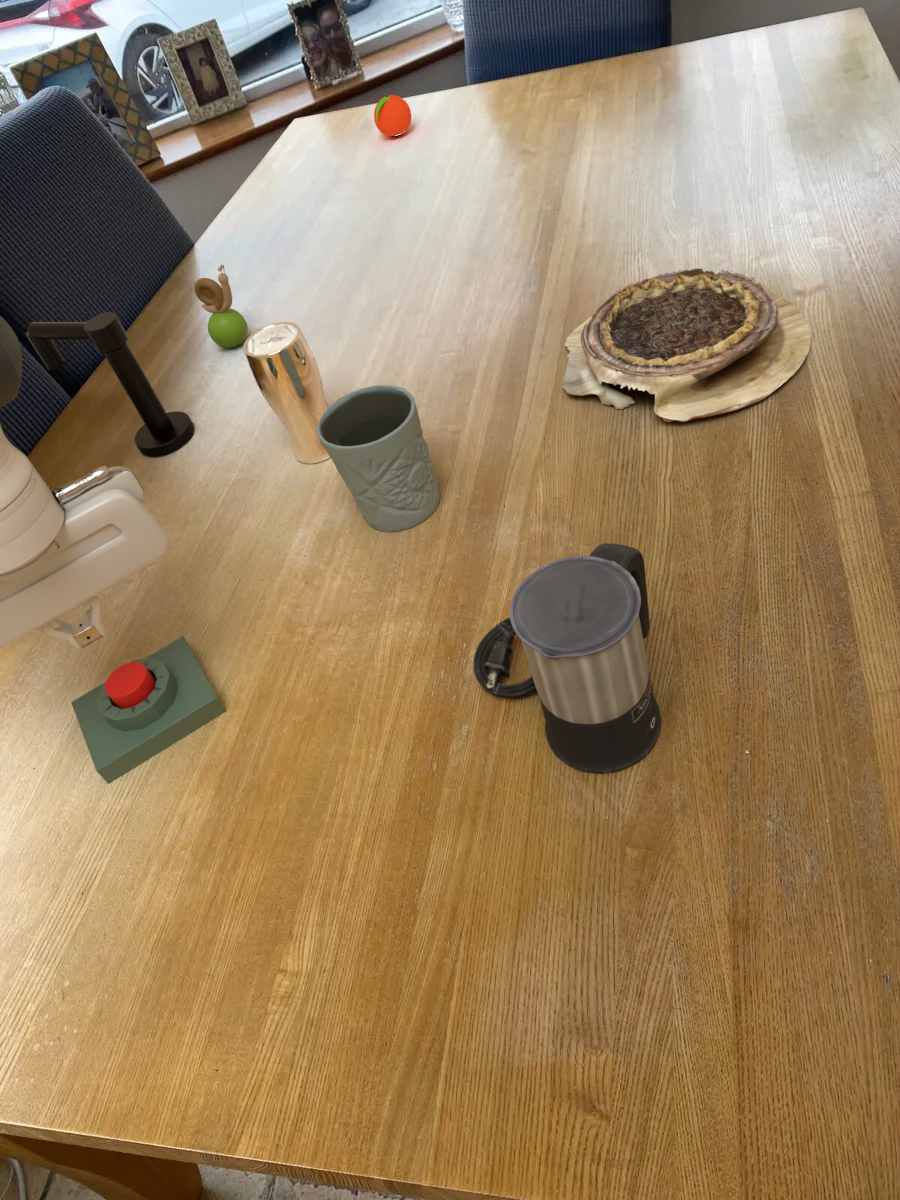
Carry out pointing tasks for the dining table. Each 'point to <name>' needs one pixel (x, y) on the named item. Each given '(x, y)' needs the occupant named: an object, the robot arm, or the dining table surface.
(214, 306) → the snail figurine
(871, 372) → the dining table surface
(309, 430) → the beer glass
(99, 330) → the spout
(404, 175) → the dining table surface
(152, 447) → the base
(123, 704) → the button
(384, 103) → the clementine
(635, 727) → the milk frother
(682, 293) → the pie
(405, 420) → the embossed green cup
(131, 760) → the control block
